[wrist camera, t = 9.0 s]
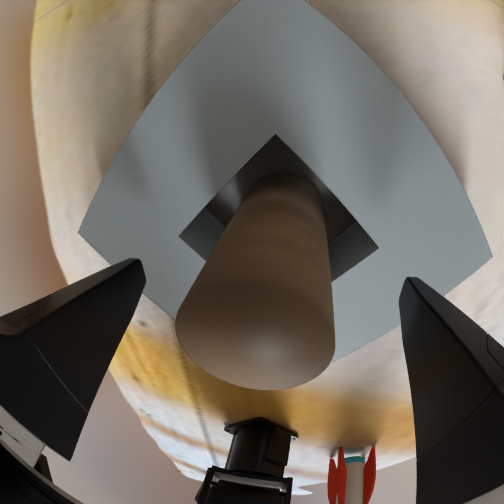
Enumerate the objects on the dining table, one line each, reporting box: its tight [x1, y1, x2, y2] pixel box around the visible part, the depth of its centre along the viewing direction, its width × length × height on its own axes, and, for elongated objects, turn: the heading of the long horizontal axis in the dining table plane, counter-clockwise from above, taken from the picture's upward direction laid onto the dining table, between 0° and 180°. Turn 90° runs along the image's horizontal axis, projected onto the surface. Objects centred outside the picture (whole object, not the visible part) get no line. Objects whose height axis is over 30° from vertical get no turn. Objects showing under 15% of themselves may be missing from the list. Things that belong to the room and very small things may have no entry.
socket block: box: [78, 0, 493, 363], centre depth 13 cm, size 15×15×4 cm
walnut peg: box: [175, 172, 336, 390], centre depth 10 cm, size 4×4×9 cm
